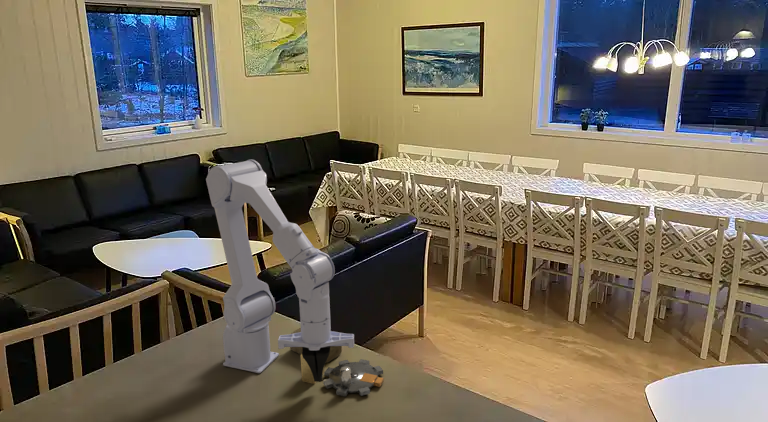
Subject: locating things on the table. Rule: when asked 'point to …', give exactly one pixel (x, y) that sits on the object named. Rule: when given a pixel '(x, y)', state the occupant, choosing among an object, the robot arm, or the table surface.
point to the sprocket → (353, 377)
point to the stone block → (334, 353)
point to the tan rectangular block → (307, 371)
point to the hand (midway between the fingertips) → (318, 378)
